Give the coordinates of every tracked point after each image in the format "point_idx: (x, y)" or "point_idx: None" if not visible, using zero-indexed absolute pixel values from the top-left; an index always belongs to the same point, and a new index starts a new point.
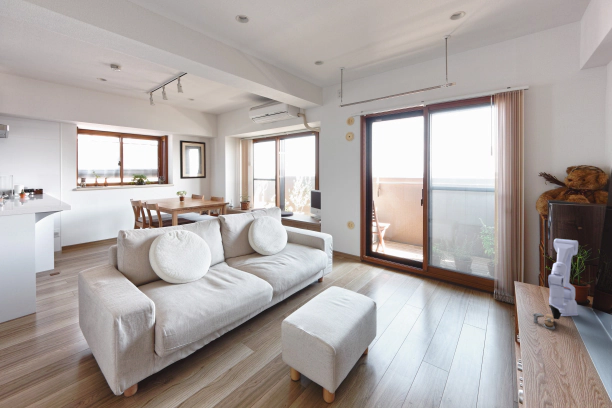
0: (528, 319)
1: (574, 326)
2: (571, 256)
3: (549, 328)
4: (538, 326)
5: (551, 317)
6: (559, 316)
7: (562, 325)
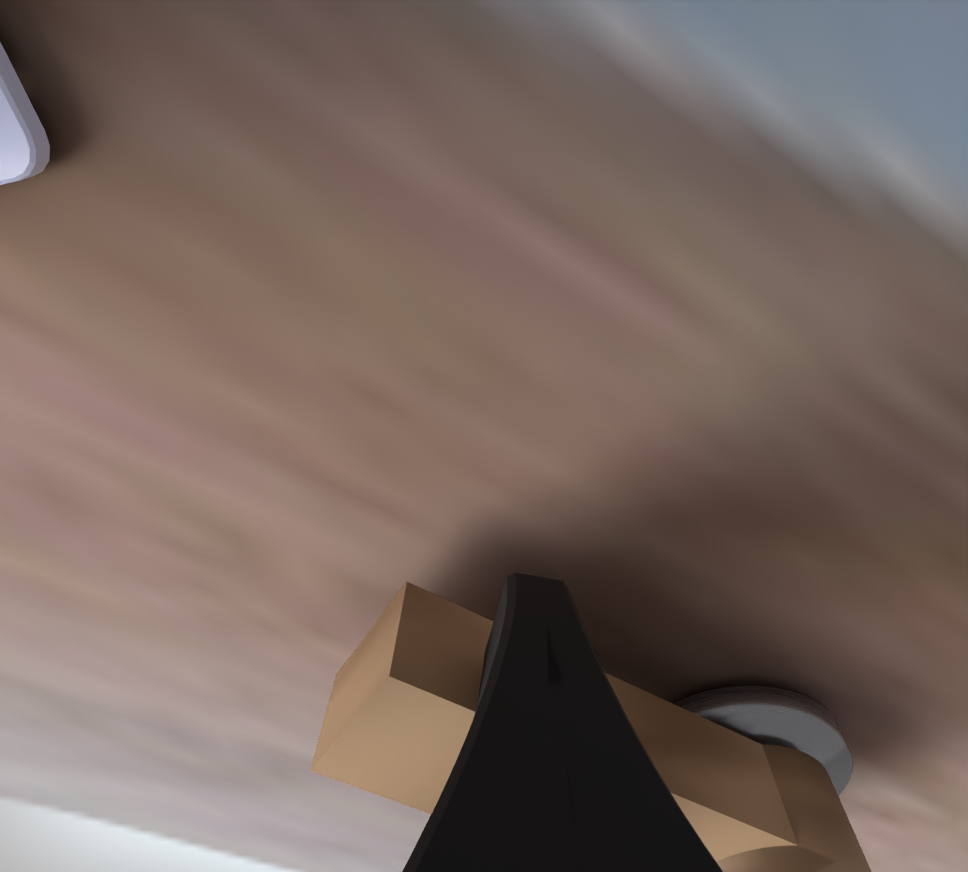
0: None
1: (777, 176)
2: None
3: None
4: None
5: None
6: (602, 689)
7: (678, 480)
